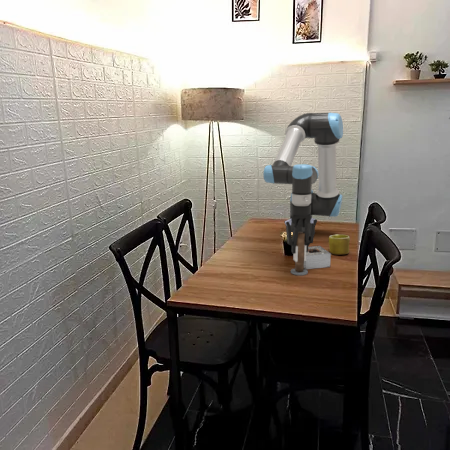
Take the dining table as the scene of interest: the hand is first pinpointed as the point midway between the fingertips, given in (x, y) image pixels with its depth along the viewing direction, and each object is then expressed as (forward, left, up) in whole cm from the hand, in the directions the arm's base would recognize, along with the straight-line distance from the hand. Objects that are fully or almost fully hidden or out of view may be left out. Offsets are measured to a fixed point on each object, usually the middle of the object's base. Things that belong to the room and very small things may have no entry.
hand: (299, 260), depth 179 cm
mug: (-20, +28, -6) cm, 34 cm away
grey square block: (-8, +10, -5) cm, 14 cm away
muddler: (0, 0, -5) cm, 5 cm away
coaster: (0, 0, -5) cm, 5 cm away
